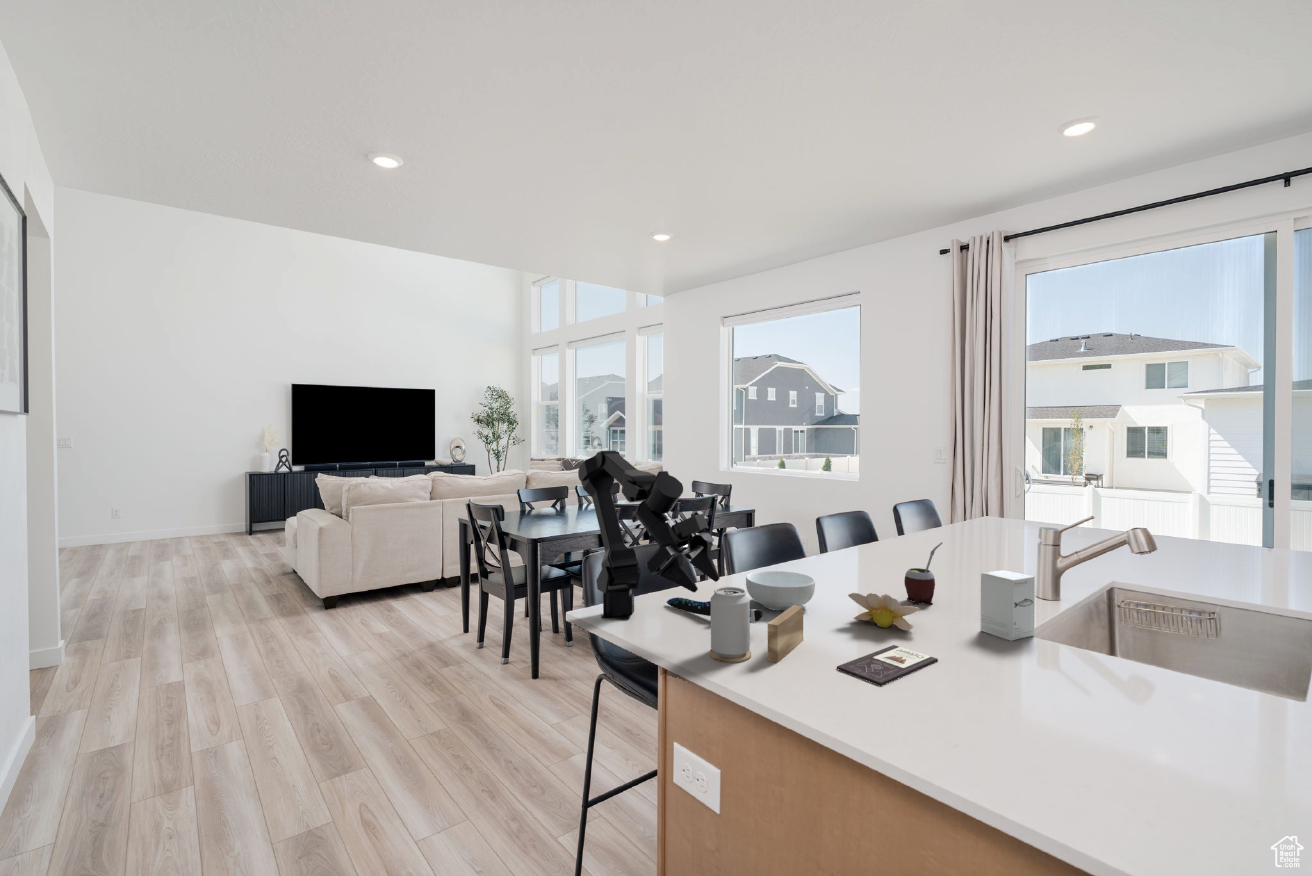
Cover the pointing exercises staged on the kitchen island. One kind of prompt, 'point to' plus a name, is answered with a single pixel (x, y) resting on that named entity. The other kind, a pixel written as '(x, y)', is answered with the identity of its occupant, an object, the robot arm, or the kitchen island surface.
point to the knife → (706, 608)
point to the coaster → (728, 659)
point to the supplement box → (1007, 604)
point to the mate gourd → (920, 583)
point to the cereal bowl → (780, 588)
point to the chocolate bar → (887, 664)
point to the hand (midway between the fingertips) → (707, 585)
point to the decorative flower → (883, 610)
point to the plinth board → (785, 633)
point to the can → (730, 622)
